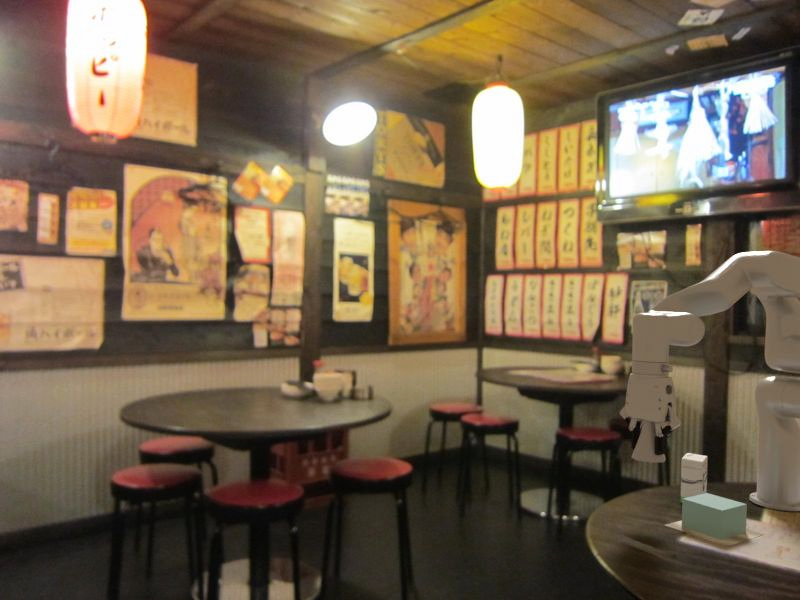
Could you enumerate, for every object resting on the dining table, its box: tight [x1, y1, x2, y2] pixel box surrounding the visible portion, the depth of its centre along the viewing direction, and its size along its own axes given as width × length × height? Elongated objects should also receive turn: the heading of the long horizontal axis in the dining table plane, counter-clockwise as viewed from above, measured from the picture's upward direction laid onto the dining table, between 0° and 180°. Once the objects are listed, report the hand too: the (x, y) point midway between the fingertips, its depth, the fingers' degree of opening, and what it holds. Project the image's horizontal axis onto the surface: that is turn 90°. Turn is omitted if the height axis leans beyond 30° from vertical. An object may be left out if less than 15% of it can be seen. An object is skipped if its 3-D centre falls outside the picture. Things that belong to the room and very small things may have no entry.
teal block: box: [681, 492, 748, 540], centre depth 140 cm, size 9×9×6 cm
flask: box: [630, 420, 666, 464], centre depth 145 cm, size 7×7×10 cm
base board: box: [664, 519, 765, 548], centre depth 140 cm, size 14×14×1 cm
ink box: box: [680, 452, 708, 503], centre depth 161 cm, size 9×5×12 cm, turn 148°
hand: (648, 450), depth 145 cm, fingers closed on flask, 5 cm apart
